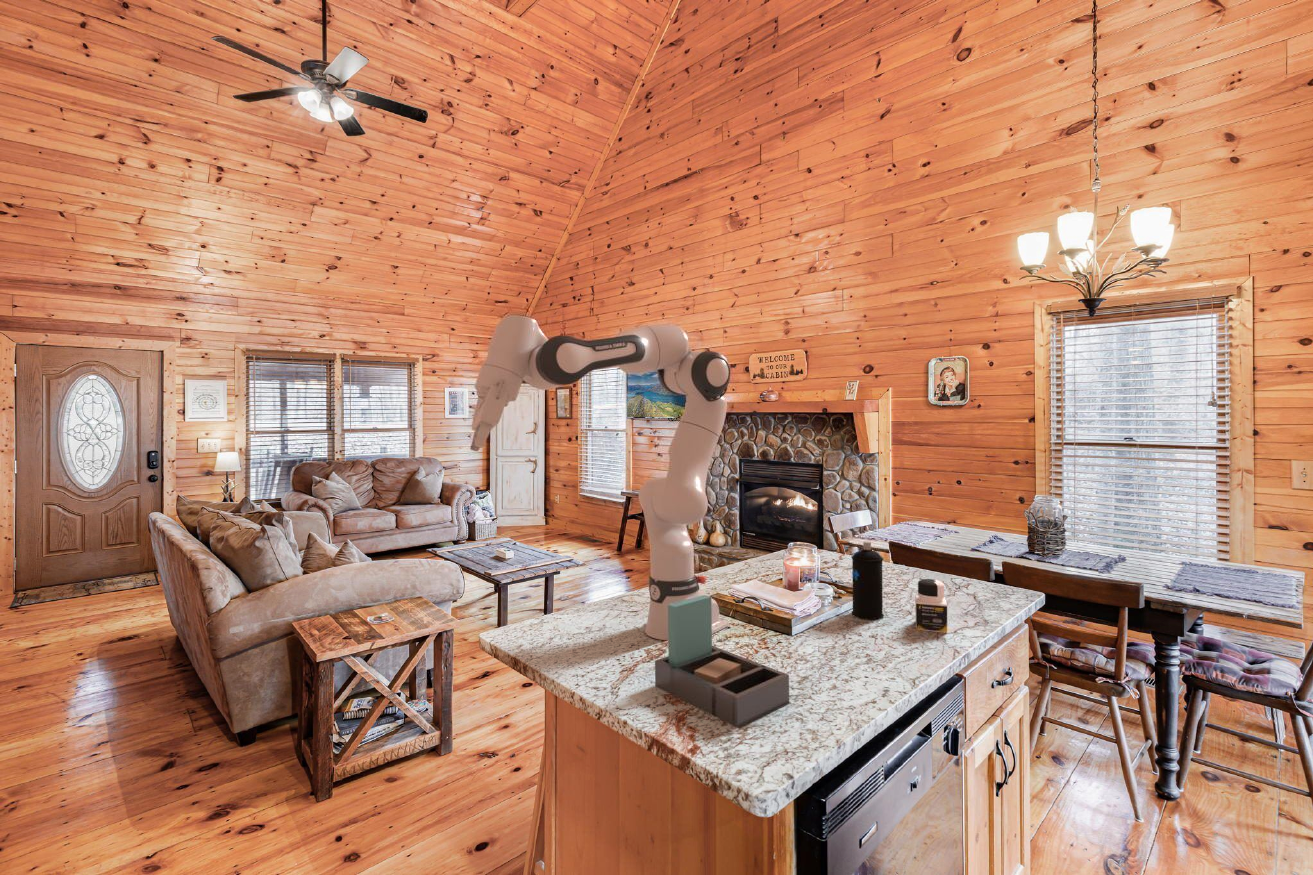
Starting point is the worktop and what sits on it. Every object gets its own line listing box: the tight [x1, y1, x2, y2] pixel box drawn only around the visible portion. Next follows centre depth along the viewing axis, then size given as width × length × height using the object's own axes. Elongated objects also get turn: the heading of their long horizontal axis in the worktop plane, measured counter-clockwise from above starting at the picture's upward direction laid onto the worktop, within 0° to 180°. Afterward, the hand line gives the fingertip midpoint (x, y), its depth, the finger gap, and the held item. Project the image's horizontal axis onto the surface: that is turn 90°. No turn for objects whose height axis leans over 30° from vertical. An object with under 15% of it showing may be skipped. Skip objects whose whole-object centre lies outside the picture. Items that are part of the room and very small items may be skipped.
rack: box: [654, 645, 792, 730], centre depth 113 cm, size 14×22×6 cm, turn 40°
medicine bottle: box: [914, 578, 948, 634], centre depth 153 cm, size 7×7×12 cm
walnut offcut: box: [694, 658, 741, 685], centre depth 113 cm, size 8×5×2 cm, turn 138°
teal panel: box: [667, 594, 713, 666], centre depth 119 cm, size 10×2×16 cm, turn 130°
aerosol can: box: [851, 541, 885, 621], centre depth 163 cm, size 8×8×20 cm
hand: (476, 448), depth 122 cm, fingers open, 8 cm apart
